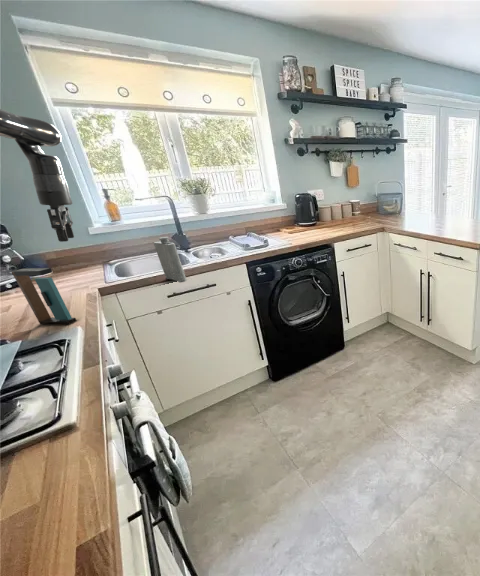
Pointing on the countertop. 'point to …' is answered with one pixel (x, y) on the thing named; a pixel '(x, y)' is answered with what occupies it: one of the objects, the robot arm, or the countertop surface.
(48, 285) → the door
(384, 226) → the countertop surface
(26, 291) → the door frame
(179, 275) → the hip flask
